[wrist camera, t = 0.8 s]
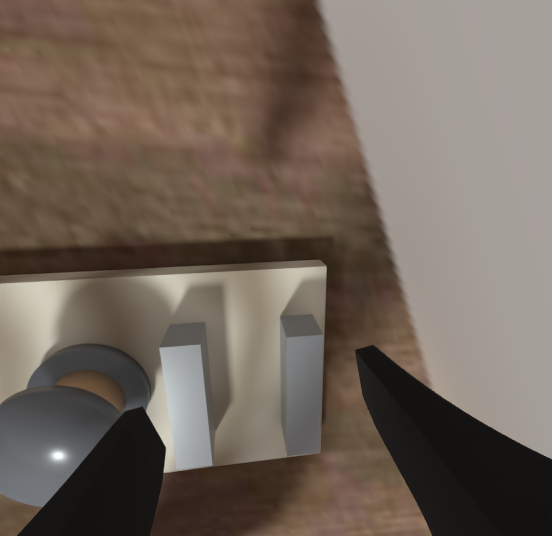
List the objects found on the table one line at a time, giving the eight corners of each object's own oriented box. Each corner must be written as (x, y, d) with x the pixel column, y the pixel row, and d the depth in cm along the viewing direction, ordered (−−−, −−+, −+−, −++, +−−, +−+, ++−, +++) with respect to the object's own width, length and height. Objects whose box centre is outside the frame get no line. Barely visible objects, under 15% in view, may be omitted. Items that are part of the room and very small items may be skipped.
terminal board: (-67, 481, 20) (-90, 505, 19) (-159, 283, 16) (-198, 294, 15) (315, 436, 23) (320, 453, 22) (319, 259, 19) (326, 266, 18)
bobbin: (49, 439, 19) (-5, 516, 14) (22, 348, 17) (-50, 405, 12) (157, 427, 19) (135, 497, 15) (142, 338, 17) (113, 390, 13)
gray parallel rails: (184, 434, 20) (177, 470, 17) (169, 324, 17) (159, 347, 15) (310, 420, 21) (319, 452, 18) (312, 314, 18) (323, 334, 16)
